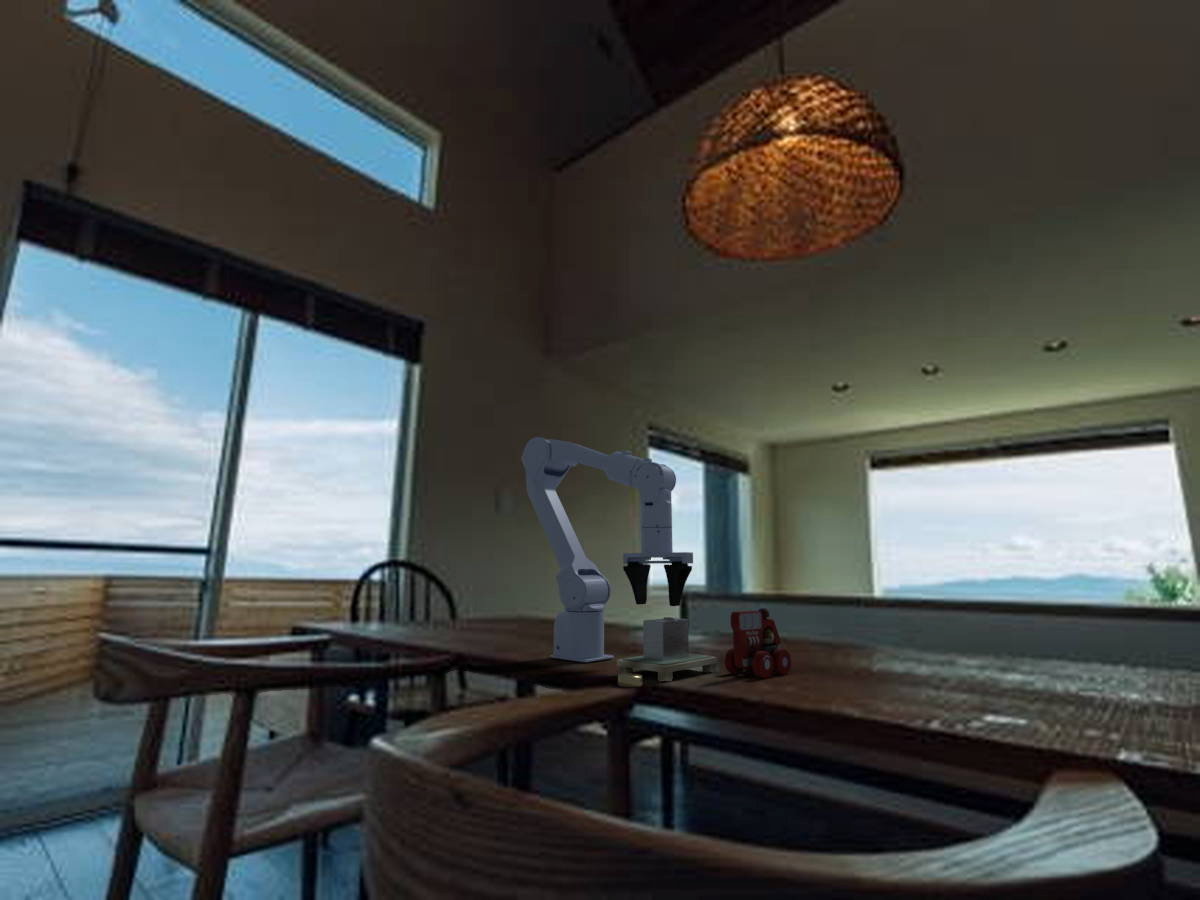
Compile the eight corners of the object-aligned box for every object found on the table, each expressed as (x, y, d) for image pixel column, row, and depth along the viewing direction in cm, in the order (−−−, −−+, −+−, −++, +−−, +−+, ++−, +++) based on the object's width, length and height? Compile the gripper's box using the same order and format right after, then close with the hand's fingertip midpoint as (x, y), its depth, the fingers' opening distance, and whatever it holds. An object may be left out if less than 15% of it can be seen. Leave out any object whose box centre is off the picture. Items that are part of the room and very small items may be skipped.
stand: (616, 674, 105) (616, 658, 105) (669, 665, 115) (669, 650, 115) (666, 682, 98) (666, 665, 98) (717, 671, 108) (717, 655, 108)
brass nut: (612, 686, 96) (612, 675, 96) (628, 683, 99) (628, 672, 99) (631, 689, 94) (631, 678, 94) (647, 686, 96) (647, 675, 97)
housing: (643, 658, 105) (643, 618, 106) (669, 654, 110) (668, 616, 111) (663, 661, 103) (662, 620, 104) (688, 656, 108) (688, 617, 109)
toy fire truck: (798, 672, 108) (795, 608, 109) (755, 681, 99) (752, 611, 101) (762, 667, 113) (760, 606, 114) (718, 675, 104) (716, 609, 106)
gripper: (611, 529, 120) (612, 604, 118) (675, 525, 110) (677, 607, 108) (636, 530, 125) (637, 602, 123) (699, 527, 115) (701, 605, 113)
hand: (657, 605), depth 116 cm, fingers open, 7 cm apart
